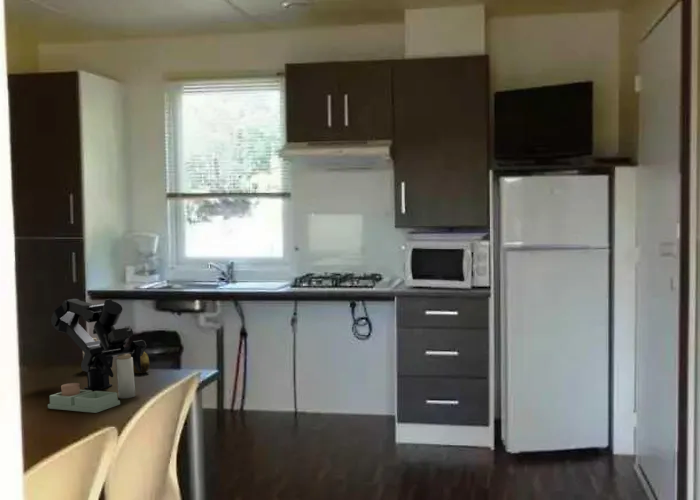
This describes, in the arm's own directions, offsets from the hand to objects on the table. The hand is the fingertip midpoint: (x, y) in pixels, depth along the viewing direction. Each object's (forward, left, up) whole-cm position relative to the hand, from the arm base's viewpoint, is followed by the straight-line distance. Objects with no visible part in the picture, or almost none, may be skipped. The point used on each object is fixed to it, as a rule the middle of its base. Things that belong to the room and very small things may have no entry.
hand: (126, 373), depth 252 cm
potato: (-23, +31, -7) cm, 40 cm away
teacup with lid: (-41, +29, -7) cm, 51 cm away
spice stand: (-5, -13, -7) cm, 16 cm away
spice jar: (-1, 0, -7) cm, 7 cm away
